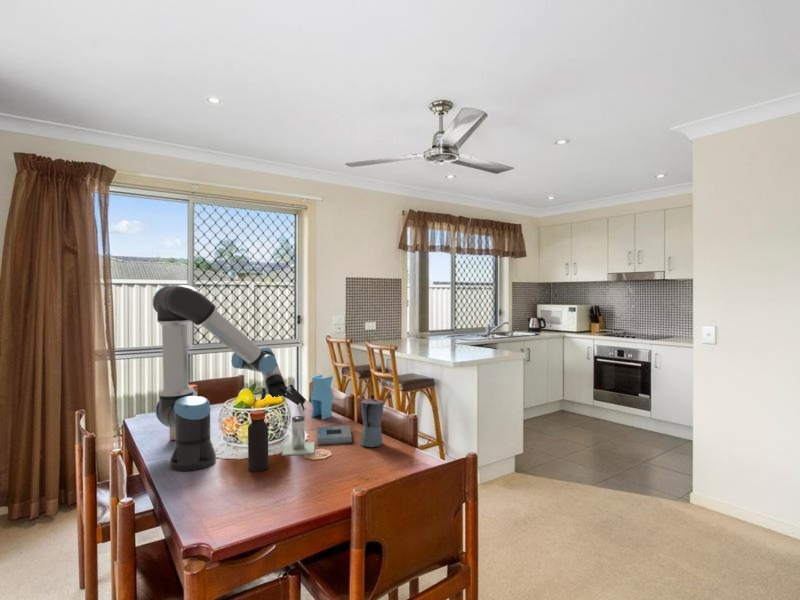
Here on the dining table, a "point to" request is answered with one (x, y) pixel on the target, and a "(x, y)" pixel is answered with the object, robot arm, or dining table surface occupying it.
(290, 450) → the mat
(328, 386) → the blue notched block
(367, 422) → the moka pot
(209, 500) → the dining table surface
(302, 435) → the silver canister
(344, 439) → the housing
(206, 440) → the robot arm
